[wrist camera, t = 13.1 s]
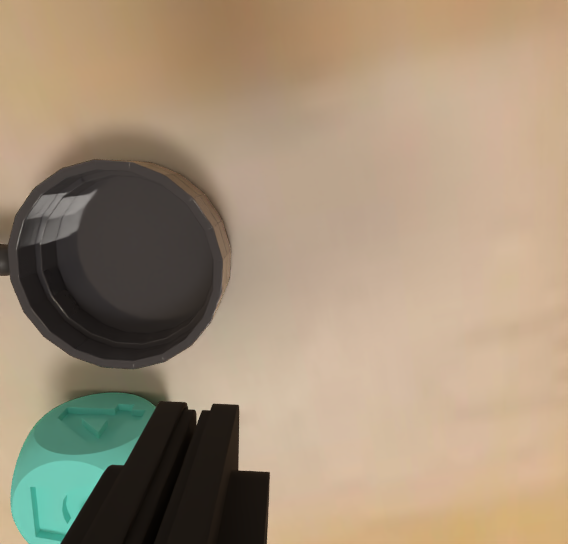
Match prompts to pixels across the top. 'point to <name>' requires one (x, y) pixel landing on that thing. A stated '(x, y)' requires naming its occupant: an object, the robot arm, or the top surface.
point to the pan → (119, 262)
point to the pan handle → (4, 260)
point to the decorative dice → (72, 460)
